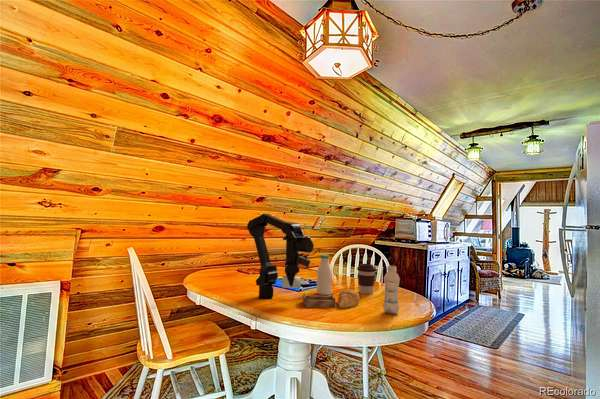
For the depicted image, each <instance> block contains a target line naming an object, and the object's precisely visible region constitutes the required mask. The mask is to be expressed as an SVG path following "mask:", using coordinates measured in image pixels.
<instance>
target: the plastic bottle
mask: <svg viewBox="0 0 600 399" xmlns="http://www.w3.org/2000/svg"><path fill="white" fill-rule="evenodd" d="M386 267H387V268H386V269H387V270H386V271H387V272H386V273H385V275H384V276H383V281H384V299H383V304H382V308H383V312H385V313H386V314H390V315H393V314H398V313H399V311H400V303H399V286H400V280H401V278H400V275H399V274H398V273H397V271H398V270H397V266H396V265H387V266H386Z"/></svg>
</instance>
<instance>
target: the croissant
mask: <svg viewBox="0 0 600 399" xmlns="http://www.w3.org/2000/svg"><path fill="white" fill-rule="evenodd" d="M359 293H360V292H358V291H357V290H355V289H353V288H352V289H351V288H349V289H344V290H342V291H341V292H339V293H338V308H340V309H347V308H355V307H358V305H359V303H360V299H361V298H360V294H359Z"/></svg>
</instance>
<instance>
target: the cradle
mask: <svg viewBox="0 0 600 399" xmlns="http://www.w3.org/2000/svg"><path fill="white" fill-rule="evenodd" d="M302 304H303V308H336V297H335V295H334V294H333V293H331V294H330V295H306V293H305V292H304V293H303V294H302Z"/></svg>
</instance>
